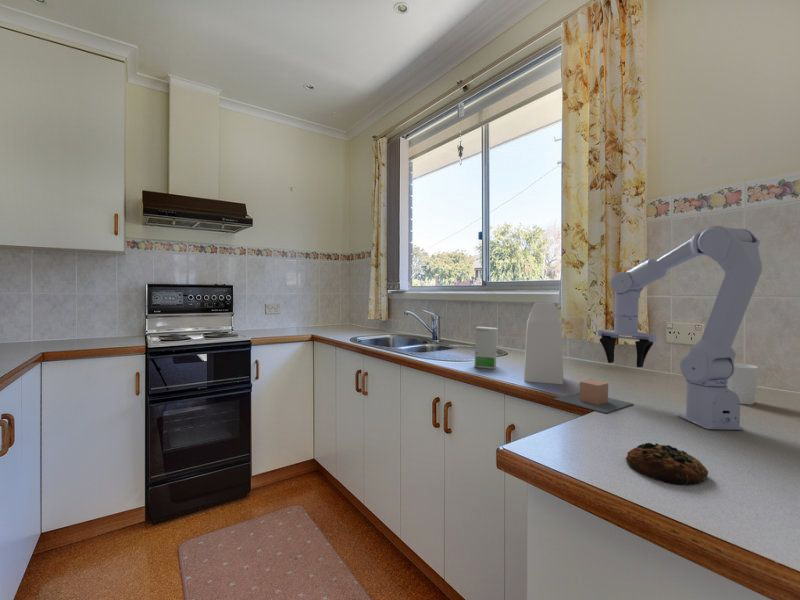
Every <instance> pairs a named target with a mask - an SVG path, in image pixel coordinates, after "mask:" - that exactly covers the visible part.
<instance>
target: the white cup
mask: <svg viewBox="0 0 800 600" xmlns="http://www.w3.org/2000/svg"><path fill="white" fill-rule="evenodd" d="M734 366H735V371H734V374H733V375H732V376H731V377H730V378H729V379H728V384H727V387H728V388H729V389H730V390H731V391H733V392H735V393H736V394H737V395H738V397H739V399H740V405H754V404H755V401H756V400H755V399H756V393H757V386H758V377H759V376H758V375H759V367H758V366H757V365H753V364H748V363H747V364H746V363H738V362H734Z"/></svg>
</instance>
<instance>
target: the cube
mask: <svg viewBox="0 0 800 600" xmlns="http://www.w3.org/2000/svg"><path fill="white" fill-rule="evenodd" d="M579 393H580V400H581V401H585V402H589V403H593V404H597V405H599V404H602V403H606V402H608V398H609V382H605V381H600V380H599V381H598V380H593V379H587V380H581V381H579Z"/></svg>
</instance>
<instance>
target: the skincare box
mask: <svg viewBox="0 0 800 600" xmlns="http://www.w3.org/2000/svg"><path fill="white" fill-rule="evenodd" d="M498 329H499V328H498V327H491V326H490V327H487V326H476V327H475V347H474V365H473V366H474V368H480V369H493V370H496V367H497V354H498V353H497V351H498V349H497V348H498Z"/></svg>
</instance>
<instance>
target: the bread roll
mask: <svg viewBox="0 0 800 600" xmlns="http://www.w3.org/2000/svg"><path fill="white" fill-rule="evenodd" d="M626 454H627V456H626V457H625V460H626V463H627V464H628V465H629V467H631V468H632V469H633V470H635V471H636V472H638V473H640V474H641V475H644V476H645V477H647V478H650V479H653V480H657V481H659V482H662V483H666V484H669V485H677V486H679V485H680V486H685V485H687V486H691V485H692V486H693V485H697V484H700V483H701V482H702V481H703V482H705V481H707V477H708V475H709V470H707V467H706V466H704V465H703V463H702V462H701V461H700V460H699V459H697V458H696V457H694V456H692V455H690V454H689V453H688V452H687V451H685V450H680V449H678V448H677V447H674V446H672V445H669V444H667V445H666V444H659V443H657V442H656V443H655V444H654V443H651V442H646V443H641V444H639V445H637V446H636V447H634V448H632V449H630V450H629V451H628V452H627V453H626Z"/></svg>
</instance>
